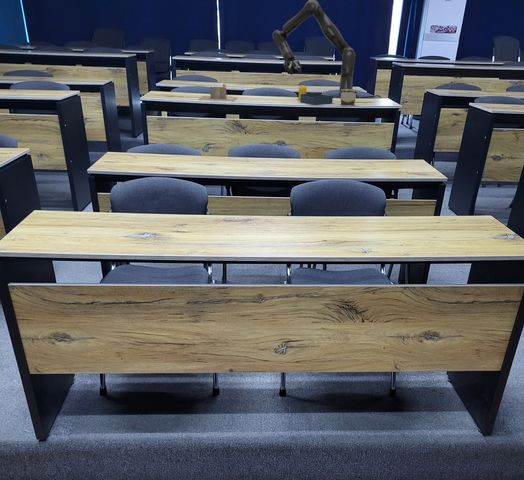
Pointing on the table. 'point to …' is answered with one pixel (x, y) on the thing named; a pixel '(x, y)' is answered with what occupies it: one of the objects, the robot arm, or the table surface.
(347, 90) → the food container
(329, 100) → the crate
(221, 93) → the ruin model on sheet
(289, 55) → the robot arm
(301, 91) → the pepper
